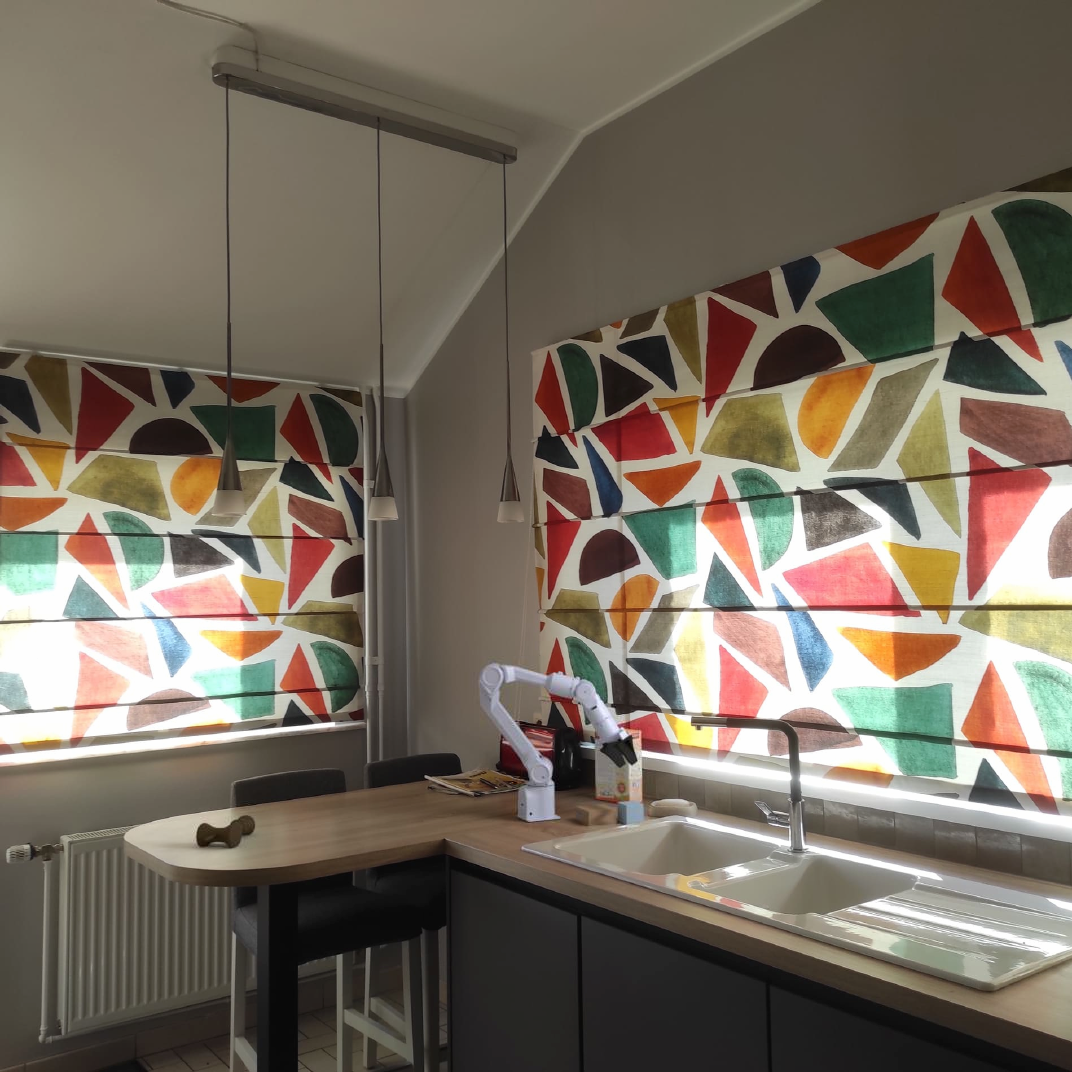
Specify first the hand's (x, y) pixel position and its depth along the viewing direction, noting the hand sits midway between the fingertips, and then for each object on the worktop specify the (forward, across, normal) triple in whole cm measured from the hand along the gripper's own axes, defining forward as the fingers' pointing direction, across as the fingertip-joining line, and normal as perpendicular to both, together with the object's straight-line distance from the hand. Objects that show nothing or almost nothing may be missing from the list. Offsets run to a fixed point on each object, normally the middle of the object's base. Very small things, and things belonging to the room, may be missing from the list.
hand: (628, 764), depth 265 cm
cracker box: (+11, +25, -3) cm, 28 cm away
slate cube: (+12, -2, +9) cm, 15 cm away
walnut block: (+8, +2, +16) cm, 18 cm away
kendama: (-38, +16, +96) cm, 104 cm away
